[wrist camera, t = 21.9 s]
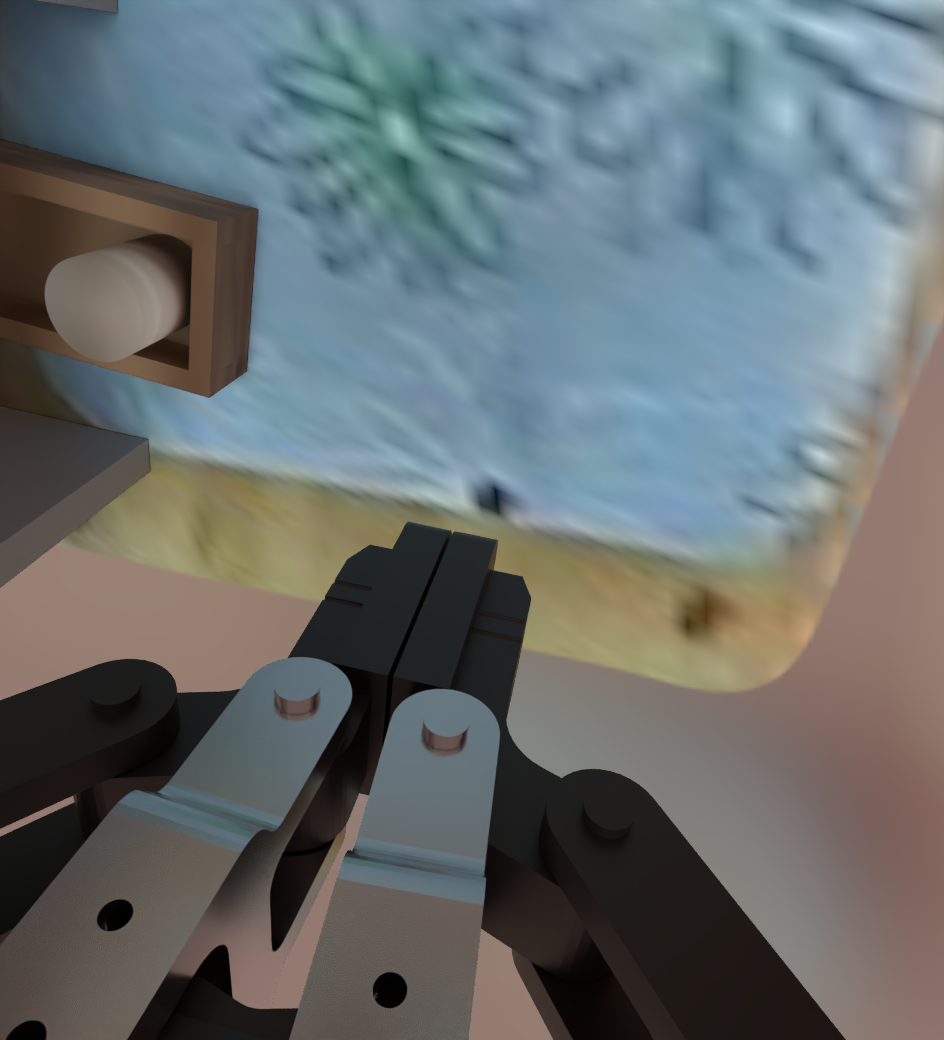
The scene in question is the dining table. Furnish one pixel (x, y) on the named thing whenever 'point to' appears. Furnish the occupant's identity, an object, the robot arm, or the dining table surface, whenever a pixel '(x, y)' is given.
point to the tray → (112, 218)
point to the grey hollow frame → (58, 466)
